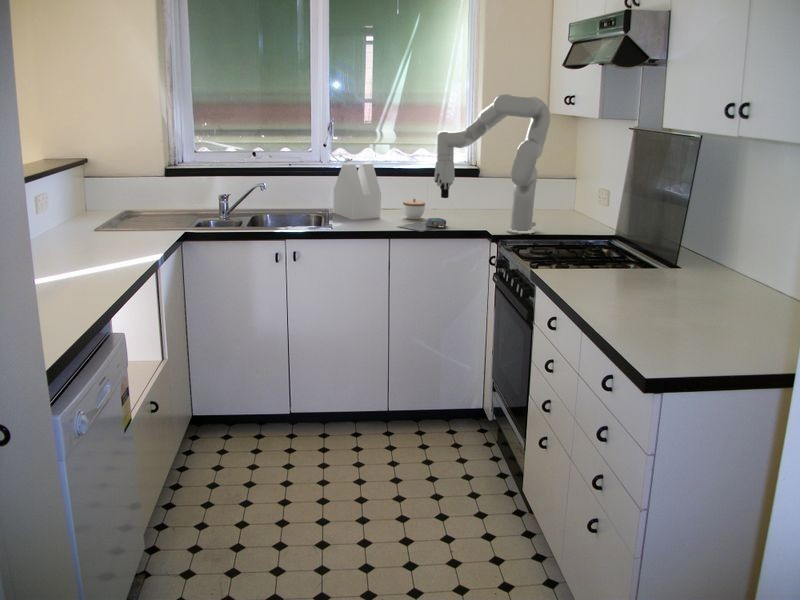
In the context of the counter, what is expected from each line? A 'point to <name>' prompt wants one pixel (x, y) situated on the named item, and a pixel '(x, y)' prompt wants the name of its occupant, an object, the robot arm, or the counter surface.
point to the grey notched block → (357, 192)
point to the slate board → (418, 227)
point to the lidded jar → (413, 209)
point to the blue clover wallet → (435, 222)
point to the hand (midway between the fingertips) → (444, 197)
